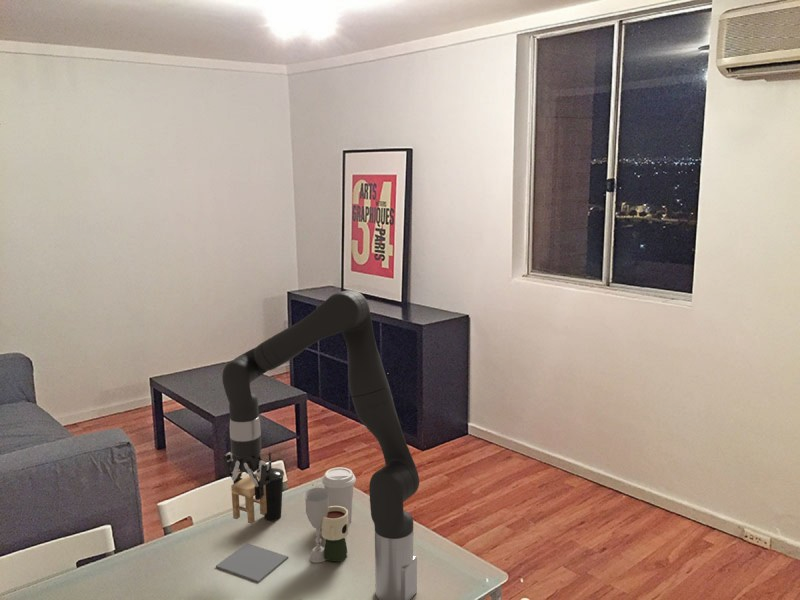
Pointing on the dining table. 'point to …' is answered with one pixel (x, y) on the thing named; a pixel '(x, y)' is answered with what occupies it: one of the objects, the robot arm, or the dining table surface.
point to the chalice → (317, 517)
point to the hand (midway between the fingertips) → (248, 495)
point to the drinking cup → (274, 494)
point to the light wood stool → (247, 499)
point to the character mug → (335, 533)
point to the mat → (252, 562)
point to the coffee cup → (340, 488)
